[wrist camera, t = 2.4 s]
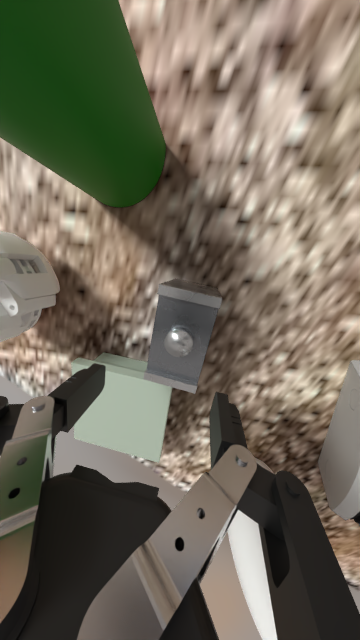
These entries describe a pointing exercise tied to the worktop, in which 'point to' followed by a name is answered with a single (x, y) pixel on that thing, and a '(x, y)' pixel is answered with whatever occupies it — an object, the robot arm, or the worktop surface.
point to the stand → (125, 409)
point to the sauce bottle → (252, 570)
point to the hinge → (344, 450)
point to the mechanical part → (23, 285)
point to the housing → (181, 333)
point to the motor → (79, 97)
